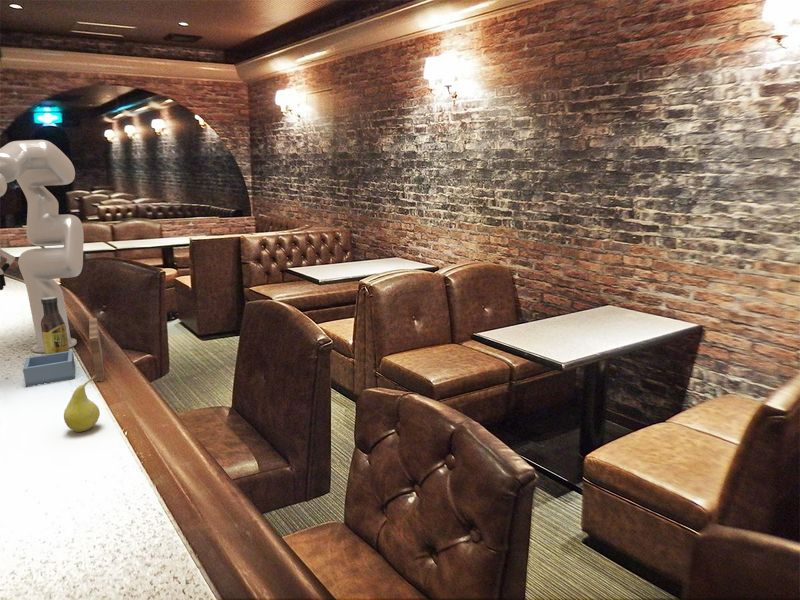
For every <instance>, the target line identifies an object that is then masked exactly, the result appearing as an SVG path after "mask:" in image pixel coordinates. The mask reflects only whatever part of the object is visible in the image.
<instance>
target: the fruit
mask: <svg viewBox="0 0 800 600" xmlns="http://www.w3.org/2000/svg"><path fill="white" fill-rule="evenodd" d="M95 379H96V375H95V374H93V376H92V377H91V378H90V379H88V380H87V381H86V382H85V383H83V384H81V385H79V386H78V387H77V388H76V389H75V390H74V391H73V393H72V394H71V395H72V396H71V398H70V400H69V401H68V403H67V406H66V407H65V409H64V412H63V420H64V423H65V424H66V426H67V428H69V429H70V430H71V431H74V432H77V433H83V432H85V431H88V430H89V429H92V427H93V426H95V425H96V423H97V422H98V420H99V418H100V416H101V415H100V414H101V413H100V408H99V406H98V405H97V404H96V403H95V402H94V401H92V400H91V399H89V398H88V395H87V392H86V385H88V384H89V383H90V382H92V381H93V380H95Z"/></svg>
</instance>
